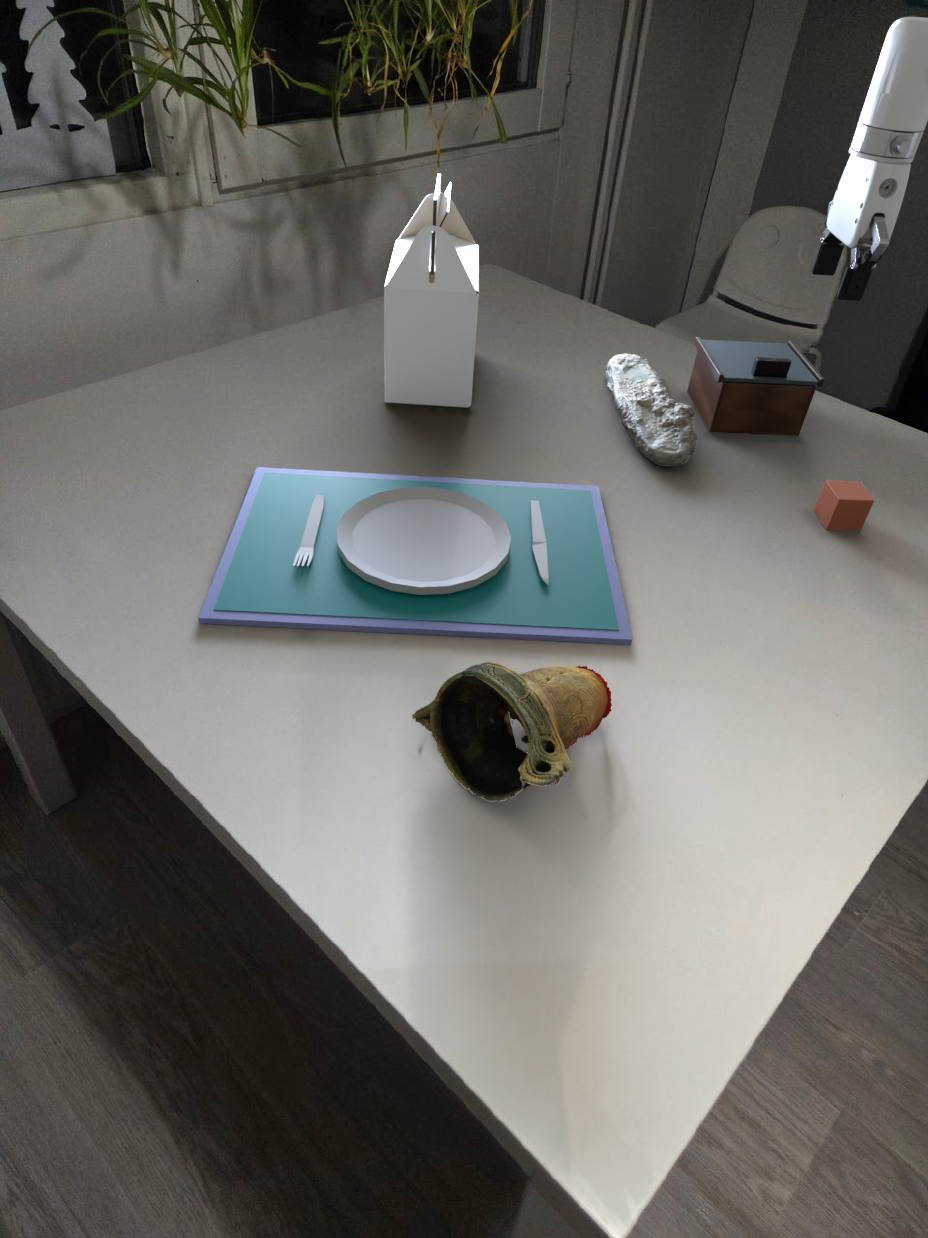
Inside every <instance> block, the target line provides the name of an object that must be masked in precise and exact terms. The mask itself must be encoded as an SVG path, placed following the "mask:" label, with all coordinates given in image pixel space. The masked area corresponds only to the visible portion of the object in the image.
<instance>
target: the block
mask: <svg viewBox="0 0 928 1238" xmlns="http://www.w3.org/2000/svg"><path fill="white" fill-rule="evenodd" d="M874 502H875V500H874V498H873V497H872V495H871V494H870V493H869V491H868V490H867V489H866V488H865V486H864V484H863V483H862V482H861V481H857V480H856V481H855V480H854V481H853V480H830V479H829V480H828V479H826V480H825V481H824V484H823V486H822V489H821V491H820V494H819V496H818V499H817V501H816V504H815V506H814V509H813V512H814V513H815V514H816V516H817V517H818V519H819V521H820V522H821V524H822V525H823V527H824V528H825V530H826V531H852V532H853V531H854V532H855V531H856V532H861V531H862V529H863V527H864V525H865V523H866V520H867V519H868V516H869V514H870V511H871V509H872V507H873V505H874Z"/></svg>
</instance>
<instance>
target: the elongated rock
mask: <svg viewBox="0 0 928 1238" xmlns="http://www.w3.org/2000/svg"><path fill="white" fill-rule="evenodd" d="M605 370H606V371H605V377H606V379H607V381H606V384H607V385H606V388H607V389H608V391H609V392H610V393H611V394H612V396H613V400H614V401H613V402H614V409H615V410H616V411H618V413H619V415H620V418H621V421H622V426H623V427H624V428H625V429H626V430H627V432H628V433H629V435H630V437H631V439H632V440H633V442H634V443H635V448H636V449H637V450H638V451H640V452H641V453H642V454H643V456H644V457H645V458H647V459H649V460H650V461H651V462H653V463H655V465H657V466H661V467H675V466H677V467H678V466H681V465H684V464H686V463H687V462H688V460H689V458H690V456H693V454H694V453H695V451H696V446H697V443H698V434H697V432H696V431H695V430H694V426H693V422H692V418H693V417H695V414H696V412H695V409H694V407H693V406H691V405H689V404H685V403H683V402H677V400H675V399H673V398H671V397H670V394H669V392H668V390H667V387H666V386H664V382H663V381H662V379H661V378H660V376H658V373H657V371H656V370H653V368H652V366H650V362H649V360H648V359H647V358H645V359H644V357H643V356H640V355H638V354H635V353H634V354H633V353H628V352H624V353H621V354H620V353H618V354H615V355H614V356H612V357H611V358H610V359H609V360H608V362H607V364H606V366H605Z"/></svg>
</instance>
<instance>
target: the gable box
mask: <svg viewBox="0 0 928 1238" xmlns="http://www.w3.org/2000/svg"><path fill="white" fill-rule="evenodd" d="M441 188H442V174H441V173H437V176H436V183H435V189H434V192H431V193H429V194H427V195H426V196H425V197H424V198H423V200H422V201H421V203H420V204H419V206H418V208H417V209H416V210H415V212H414V213H413V216H412V217H411V218H410V220H409V222H408V223H407V225H406V226H405V227H404V229H403V230H402V232H401V233H400V235H399V237H398V238H397V239H396V240H395V243H394V246H393V251H392V254H391V258H390V262H389V266H388V271H387V274H386V277H385V282H384V286H383V324H384V325H383V336H384V337H383V341H384V343H383V345H384V347H383V353H384V356H383V357H384V358H383V359H384V361H383V364H384V367H383V368H384V369H383V370H384V371H383V375H384V379H383V380H384V382H383V383H384V384H383V385H384V387H383V389H384V393H383V394H384V403H386V404H400V405H401V404H403V405H416V406H430V407H431V406H432V407H434V406H435V407H447V408H448V407H449V408H450V407H451V408H465V409H469V408H471V407H472V400H473V399H472V398H473V387H474V386H473V385H474V371H475V357H476V343H477V342H476V341H477V329H478V315H479V314H478V313H479V301H480V300H479V299H480V245H479V244H477V242H476V240H475V239H474V236H473V235H472V233H471V231H470V229H469V227H468V225H467V224H466V222H465V220H464V218H463V216H462V215H461V212H460V211H459V209H458V207H457V205H456V203H455V201H454V200H453V198H452V196H451V193H452V192H451V191H452V182H451V181H450V182H449V183H448V185H447V187H446V189H445V191H444V192H441V191H442V190H441Z"/></svg>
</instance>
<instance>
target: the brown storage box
mask: <svg viewBox="0 0 928 1238" xmlns="http://www.w3.org/2000/svg"><path fill="white" fill-rule="evenodd" d="M702 340H703V339H701V336H695V338H694V346H695V348H696V350H697V351H696V355H695V358H694V362H693V365H692V371H691V375H690V379H689V382H688V386H687V391H686V393H687V394H688V397H689V398H690V400H691V402H692V404H693V405H694V407H695V409H696V411H697V413H698V416H699V417H700V418H701V420H702V422H703V424H704V426H705V427H706V429H707V432H708V433H710V434H732V435H733V434H734V435H759V436H783V437H799V436H800V434H801V431H802V429H803V427H804V424H805V420H806V417H807V415H808V412H809V409H810V407H811V404H812V401H813V398H814V395H815V393H816V390H817V387H818V388H822V387H823V385H824V382H825V378H824V377H823V376H822V374H821V373H820V372H819V371H818V370H817V368H816V367H815V366H814V365H813V364H812V363H811V361H810V360H809V359H808V358H807V357H806V356H805V354H804V353H803V352H802V351H801V350H800V349H799V347H798V346H797V345H796V344H795V343H794V341H792V340H789V341H788V343H787V345H788V346H789V347H790V348H791V349H792V351H793V352H794V353H795V354H796V355H797V357H798V358H799V359H800V360H801V361H802V363H803V364H804V365H805V366H806V367H807V369H808V370H809V371H810V372H811V373H812V375H813V376H814V377H815V378H816V379H817V381H818V384H817V385H797V384H774V383H750V382H727V381H723V380H722V379H723V376H724V375H723V373H722V371H721V370H720V368H719V367H718V365H717V364H716V362H715V361H714V359H713V357H712V356H711V354H710V353H709V351H708V350H707V348H706V346H705V345H704V343H703V342H702Z"/></svg>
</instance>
